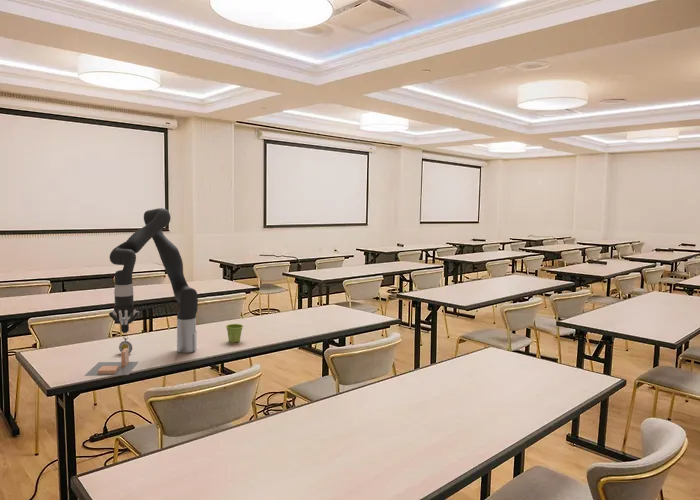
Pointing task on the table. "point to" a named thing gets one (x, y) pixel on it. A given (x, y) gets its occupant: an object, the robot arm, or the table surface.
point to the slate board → (121, 370)
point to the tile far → (125, 357)
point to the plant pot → (234, 332)
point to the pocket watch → (125, 345)
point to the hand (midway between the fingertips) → (125, 332)
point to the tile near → (108, 369)
